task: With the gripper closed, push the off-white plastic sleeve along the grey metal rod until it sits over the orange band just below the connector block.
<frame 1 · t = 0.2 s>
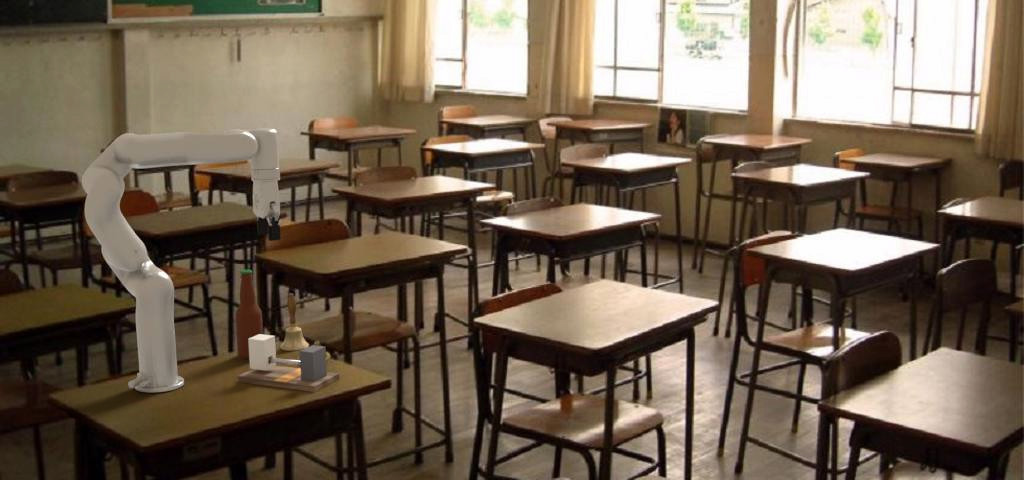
hand: (269, 237, 338), 36 cm above the table, tool pointing down, fingers open, 9 cm apart
connector block: (313, 363, 327), on the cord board, point 6 cm above the table
bottle: (251, 357, 355), on the table
seal: (313, 361, 351), on the table
metal rod: (280, 361, 332), point 4 cm above the table
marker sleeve: (262, 352, 334), point 7 cm above the table, slide at 0.0 cm
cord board: (288, 380, 332), on the table
hand bell: (294, 347, 364), on the table
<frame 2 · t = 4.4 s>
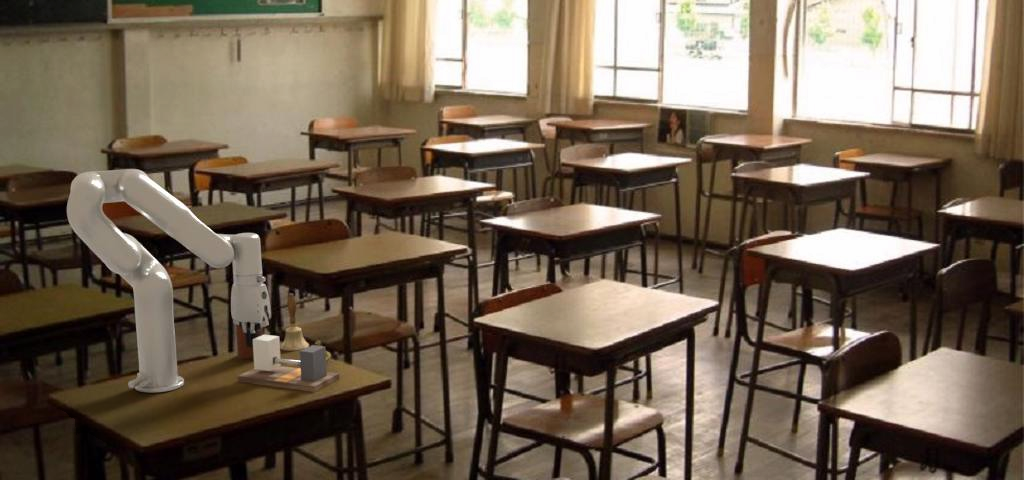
hand: (252, 346, 335), 8 cm above the table, tool pointing down, fingers closed
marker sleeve: (266, 352, 333), point 7 cm above the table, slide at 1.4 cm, touching gripper
everything else where it was.
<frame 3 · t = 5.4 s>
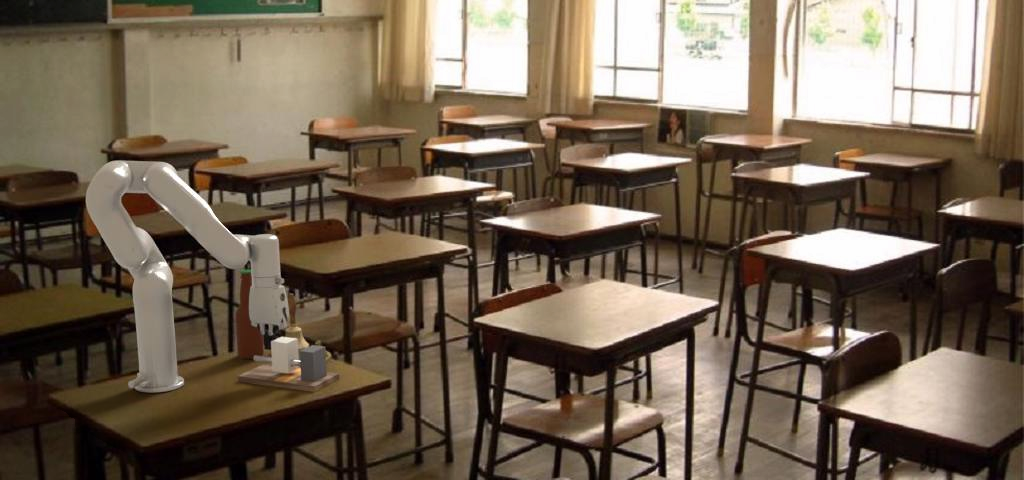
hand: (270, 348, 333), 8 cm above the table, tool pointing down, fingers closed
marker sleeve: (285, 354, 331), point 7 cm above the table, slide at 7.2 cm, touching gripper
everything else where it was.
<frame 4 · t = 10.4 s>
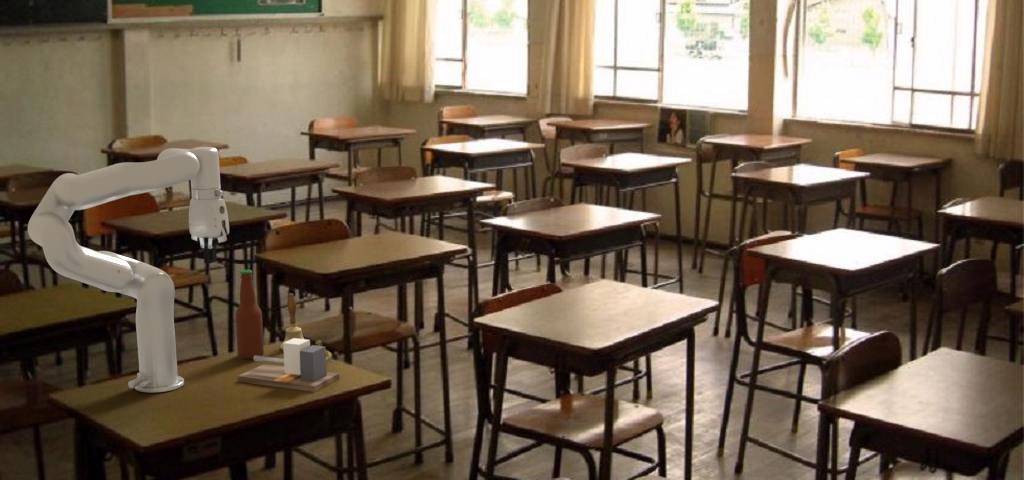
hand: (210, 262, 332), 31 cm above the table, tool pointing down, fingers closed
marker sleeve: (297, 356, 329), point 7 cm above the table, slide at 11.1 cm
everything else where it was.
at the end: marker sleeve slide at 11.1 cm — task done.
